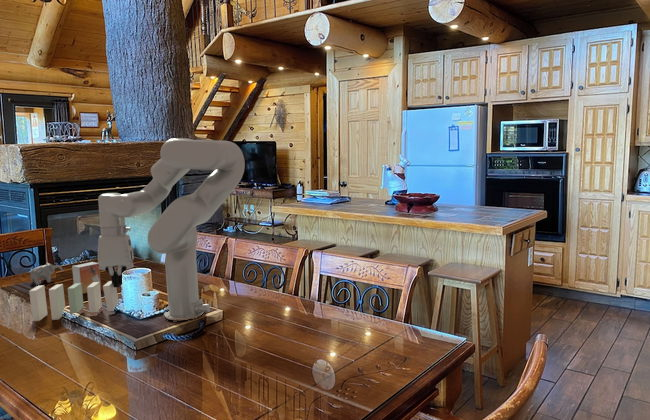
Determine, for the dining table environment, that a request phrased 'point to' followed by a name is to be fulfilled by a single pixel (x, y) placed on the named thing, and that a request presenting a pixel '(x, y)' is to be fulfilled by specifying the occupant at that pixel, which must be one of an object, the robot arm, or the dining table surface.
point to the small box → (86, 274)
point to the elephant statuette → (43, 273)
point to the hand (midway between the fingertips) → (117, 286)
